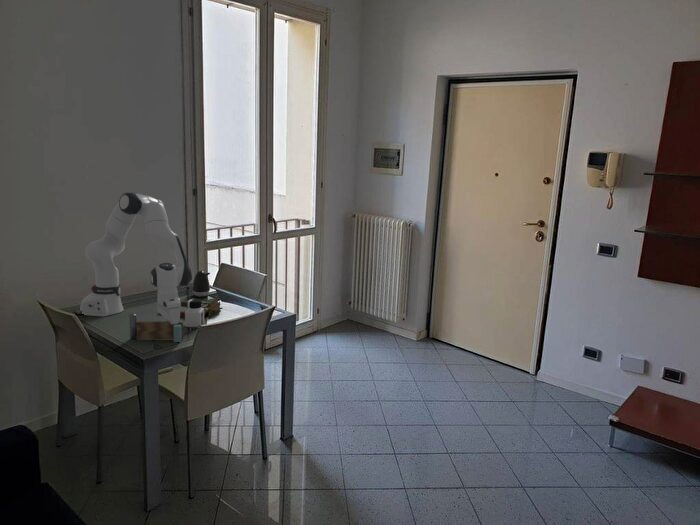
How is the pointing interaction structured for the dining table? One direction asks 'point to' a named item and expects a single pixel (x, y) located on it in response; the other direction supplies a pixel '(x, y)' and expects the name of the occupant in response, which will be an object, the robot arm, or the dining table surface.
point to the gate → (156, 330)
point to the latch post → (177, 332)
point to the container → (194, 313)
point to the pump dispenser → (201, 284)
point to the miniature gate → (205, 307)
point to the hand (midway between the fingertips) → (168, 326)
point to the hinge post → (133, 326)
